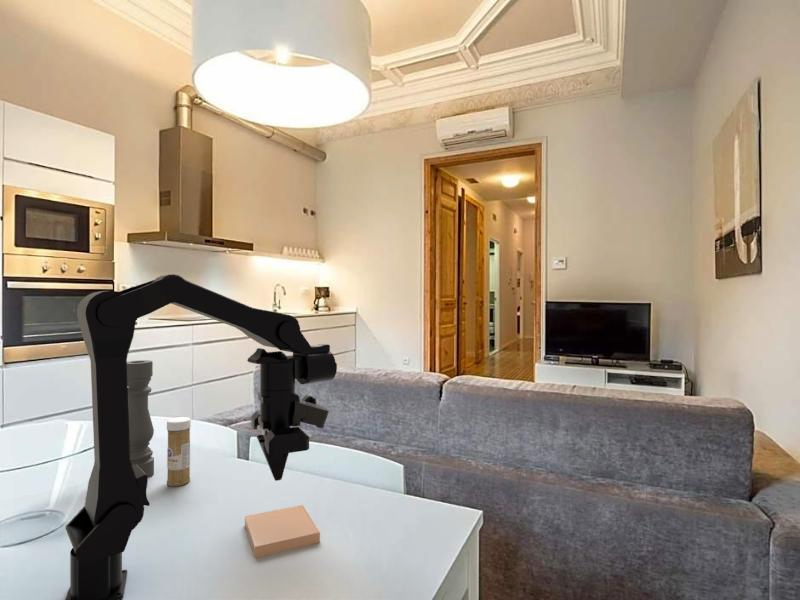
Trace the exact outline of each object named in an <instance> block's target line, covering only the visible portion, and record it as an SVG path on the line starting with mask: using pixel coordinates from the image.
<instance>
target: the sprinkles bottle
mask: <svg viewBox="0 0 800 600" xmlns="http://www.w3.org/2000/svg"><path fill="white" fill-rule="evenodd" d="M191 423H192V422H191V418H190V417H188V416H179V417H172V418H170V419H167V420H166V430H167V455H166V457H167V458H166V460H167V461H166V468H167V478H166V479H167V480H166V484H167V485H168V486H170V487H179V486H183V485H185V484H188V483H189V482H190V481H191V476H190V474H191V473H190V472H191V426H192V424H191Z"/></svg>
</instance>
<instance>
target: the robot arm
mask: <svg viewBox="0 0 800 600" xmlns="http://www.w3.org/2000/svg"><path fill="white" fill-rule="evenodd" d="M170 304H171V305H174V306H177V307H179V308H182V309H184V310H187V311H190V312H193V313H196V314H199V315H201V316H204V317H207V318H209V319H211V320H214V321H218V322H220V323H221V324H222V323H223V324H225V325H228V326H230V327H234V328H235V329H237V330H239V331H241V333H243V334H244V335H246V336H247V337H248V338H250V340H251V339H252V340H253V341H255V342H256V343H258V344H260V345H262V346H263V347H268V348H269V347H270V348H275V349H277V350H278V351H276V350H275V351H266V349H265V348H262V347H258V348H256V349H255V351H254V353H252V354H251V355H250V356H249V357H248V358H247V362H248V363H250V364H256V365H260V366H259V367H260V368H259V369H260V371H259V372H260V377H259V378H260V379H259V381H260V382H259V383H260V385H259V386H260V387H259V389H260V390H259V391H260V392H258V393H257V397H258V400H259V401H260V402H259V403H260V404H259V405H260V410H255V412H254V413H253V414H251V418H250V419H251V420H250V421H251V422H250V423H251V424H250V425H251V427H252V429H253V430H257V429H258V427H260V429H261V434H259V435H258V434H257V435H256V439H257V441H258V444H259V446H260V448H261V450H262V454H263V456H264V457H265V460H266V463H267V464H268V465H267V466H268V467H269V469H270V470H269V471H270V472H271V474H272V475H271V476H272V477H273V479H274V481H277V482H278V481H281V480H282V479H283V476H284V472H285V467H286V464H287V461H288V457H289V454H290V453H291V454H292V453H297V452H304V451H305V452H306V451H308V450H310V436H309V435H308V434H307V433H306V432H305V431H304V430H303V429H301V428H300V427H301V423H304V424H306V425H307V424H308V425H311V426H316V428H319V429H324V427H325V424H326V421H327V418H328V415H329V413H330V411H329V409H327V408H326V407H325V406H323V405H321V404H317V399H316V397H314V396H312V395H309V394H305V395H304V396H303V398H300V396H299V395H298V393H296V381H297V382H298V383H299V384H300V385H308V384H315V383H316V384H317V383H322V382H330V381H332V380H333V379H334V378H335V377H336V374H337V370H338V369H337V368H338V364H337V362H336V359H335V355H334V354H333V353H332V352H331V346H330V344H327V343H319V344H316V345H315V344H314V345H310V343H309V341H308V340H307V338H306V337H305V336H304V335H303V333H302V332H301V326H300V323H299V322H300V321H299V320H298V319H297V318H296V317H294V316H293V315H290V314H286V313H281V312H277V311H272V310H266V309H260V308H255V307H252V306H249V305H247V304H244V303H242V302H239V301H238V300H235V299H233V298H230V297H227V296H225V295H222V294H220V293H218V292H216V291H213V290H210V289H208V288H205V287H203V286H200V285H198V284H195V283H193V282H191V281H188V280H187V279H185V278H184V277H183V276H181V275H179V274H165V275H164V274H163V275H160V276H158V277H155V279H153V280H152V279H151V280H150V281H147V282H144V283H141V284H138V285H134V286H131V287H129V288H125V289H122V290H120V291H116V290H102V291H101V290H100V291H96V292H92V293H90V294H88V295H86V296H85V297H84V298H83V299H82V300H81V301H80V302H79V303H78V306H77V310H76V315H77V320H78V323H79V328H80V332H81V336H82V339H83V341H84V345H85V347H86V350H87V353H88V356H89V360H90V376H91V378H90V379H91V380H90V381H91V400H92V401H91V402H92V426H93V428H92V429H93V450H94V451H93V453H94V457H93V458H94V462H93V467H92V470H91V473H90V476H89V480H88V483H87V490H86V494H85V495H86V496H85V502H84V506H83V507H82V508H81V509H80V510H79V511H78V512H77V514H75V515H74V516H73V518H72V519H71V520H70V521H69V522H68V523H67V524H66V525H65V531H66V533H67V536H68V538H69V540H70V541H69V542H70V543H71V546H72V548H71V550H70V552H69V555H70V559H69V561H70V563H69V564H70V565H69V567H70V568H69V569H70V571H69V572H70V574H69V576H70V580H69V581H70V586H69V588H68V591H67V594H66V597H65V599H64V600H121V599H123V598H124V595H125V589H126V584H127V578H128V569H123V552H125V550H126V547H127V545H128V542H129V540H130V537H131V533H132V531H133V530H134V529H135V528H137V526H138V525H139V523H141V522H142V521H143V517H144V514H145V506H146V507H149V506H150V504H151V503H150V502H149V500H148V497H147V488H148V481H149V480H148V479H149V478H148V476H147V474H146V473H145V472H144V471H143V470H142V469H141V468H140V467H139V466H138V465H137V464H135V465H132V464H131V460H130V436H129V410H128V384H127V362H128V356H129V352H130V349H131V346H132V342H133V339H134V334H135V328H136V324H137V323H136V322H137V319H140V318H142V317H144V316H146V315H149V314H152V313H154V312H155V311H158V310H160V309H162V308H164V307H165V306H168V305H170ZM285 352H287V353H288V352H289V353H292V355H286V353H285Z"/></svg>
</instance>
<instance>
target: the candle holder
mask: <svg viewBox="0 0 800 600" xmlns="http://www.w3.org/2000/svg"><path fill="white" fill-rule="evenodd" d="M153 363H154V362H153V360H148V359H147V360H145V359H143V360H129V361H128V360H127V384H128V410H129V436H130V460H131V464H132V465H135V464H137V465H138V466H139V467H140V468H141V469H142V470H143V471H144V472H145V473H146V474H147V476H148V479H150V478H151V477H153V476H154V475H155V457H153V453H154V451H153V450H152V448H150V446H149V445H150V442H151V441H152V439H153V436H154V434H155V429H154V425H153V421H152V418H151V413H150V410H149V395H150V393H151V392H152V388H151V387H150V386H149V384H150V382H151V380H152V377H153V375H154V373H153V371H154V370H153Z"/></svg>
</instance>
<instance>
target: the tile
mask: <svg viewBox="0 0 800 600" xmlns="http://www.w3.org/2000/svg"><path fill="white" fill-rule="evenodd" d="M244 527H245V531H246V533H247V537H248V540H249V545H250V547H251V550H252V552H253V556H254V558H258V557H263V556H268V555H272V554H276V553H281V552H284V551H288V550H293V549H297V548H302V547H306V546H311V545H314V544H318V543H321V532H320V530H319V529H318V527H317V526H316V524H315V522H314V521H313V519H312V518H311V516H310V514H309V512H308V511H307V509H306V508H305V506H304V504H300V505H295V506H291V507H285V508H280V509H276V510H269V511H265V512H259V513H255V514H250V515H245V516H244Z"/></svg>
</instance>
